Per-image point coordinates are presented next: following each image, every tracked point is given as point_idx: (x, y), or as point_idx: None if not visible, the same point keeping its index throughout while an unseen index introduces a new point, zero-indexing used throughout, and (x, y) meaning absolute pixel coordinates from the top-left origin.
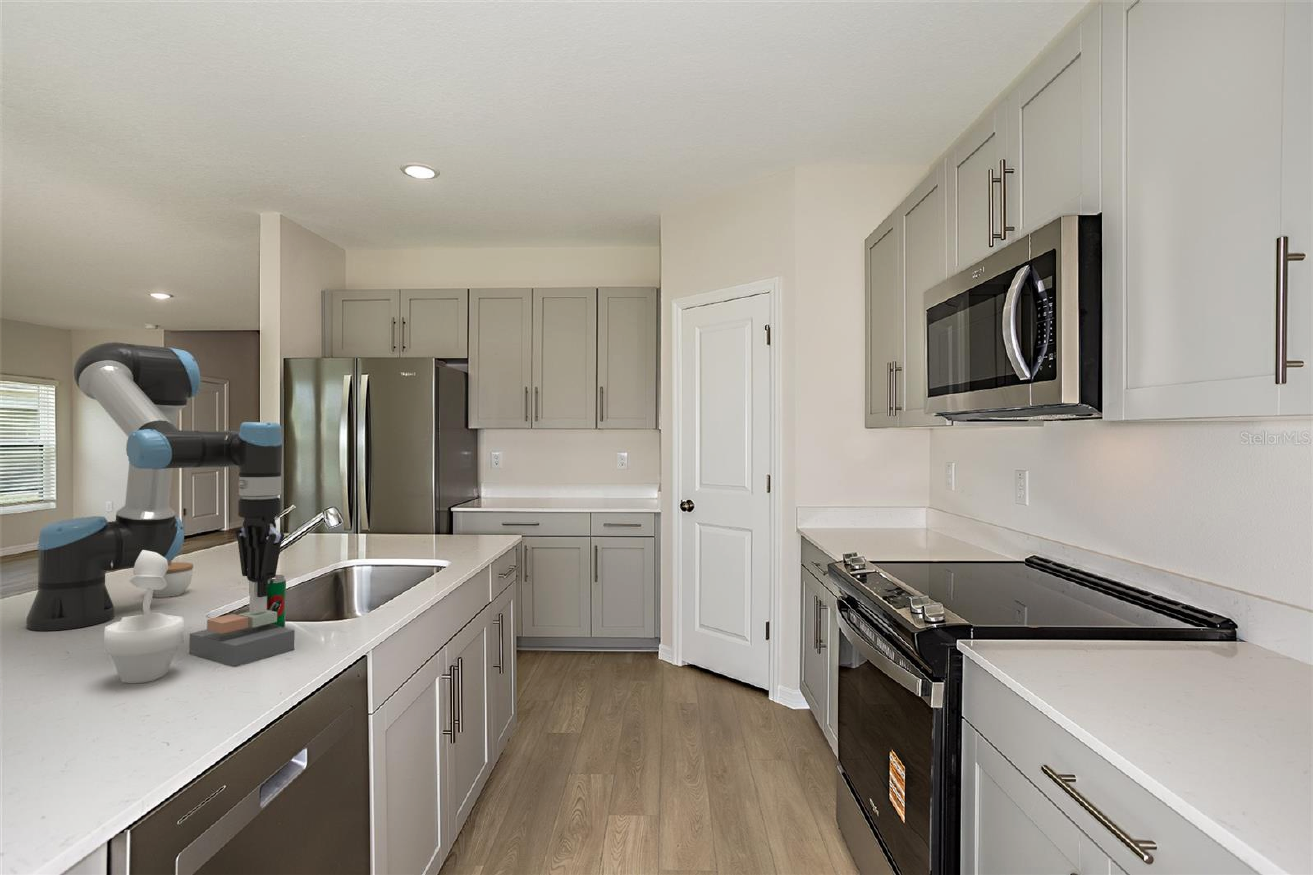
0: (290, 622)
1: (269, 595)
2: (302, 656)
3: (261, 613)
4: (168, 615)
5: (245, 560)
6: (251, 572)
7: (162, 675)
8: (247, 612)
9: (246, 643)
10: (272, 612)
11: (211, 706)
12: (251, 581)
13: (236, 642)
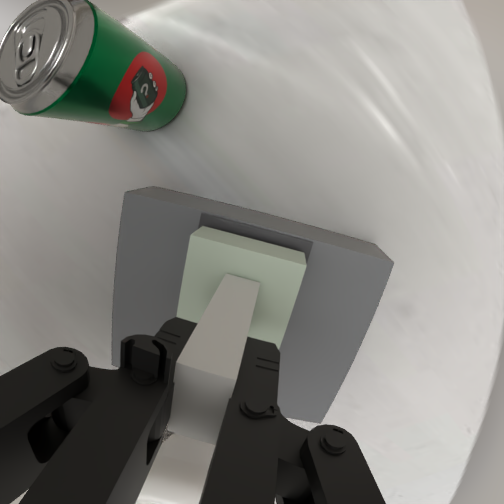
0: (145, 18)
1: (99, 107)
2: (429, 286)
3: (255, 304)
4: (146, 495)
5: (25, 484)
6: (147, 468)
7: None
8: (183, 304)
9: (332, 400)
10: (291, 277)
11: (398, 480)
12: (184, 435)
13: (304, 407)
